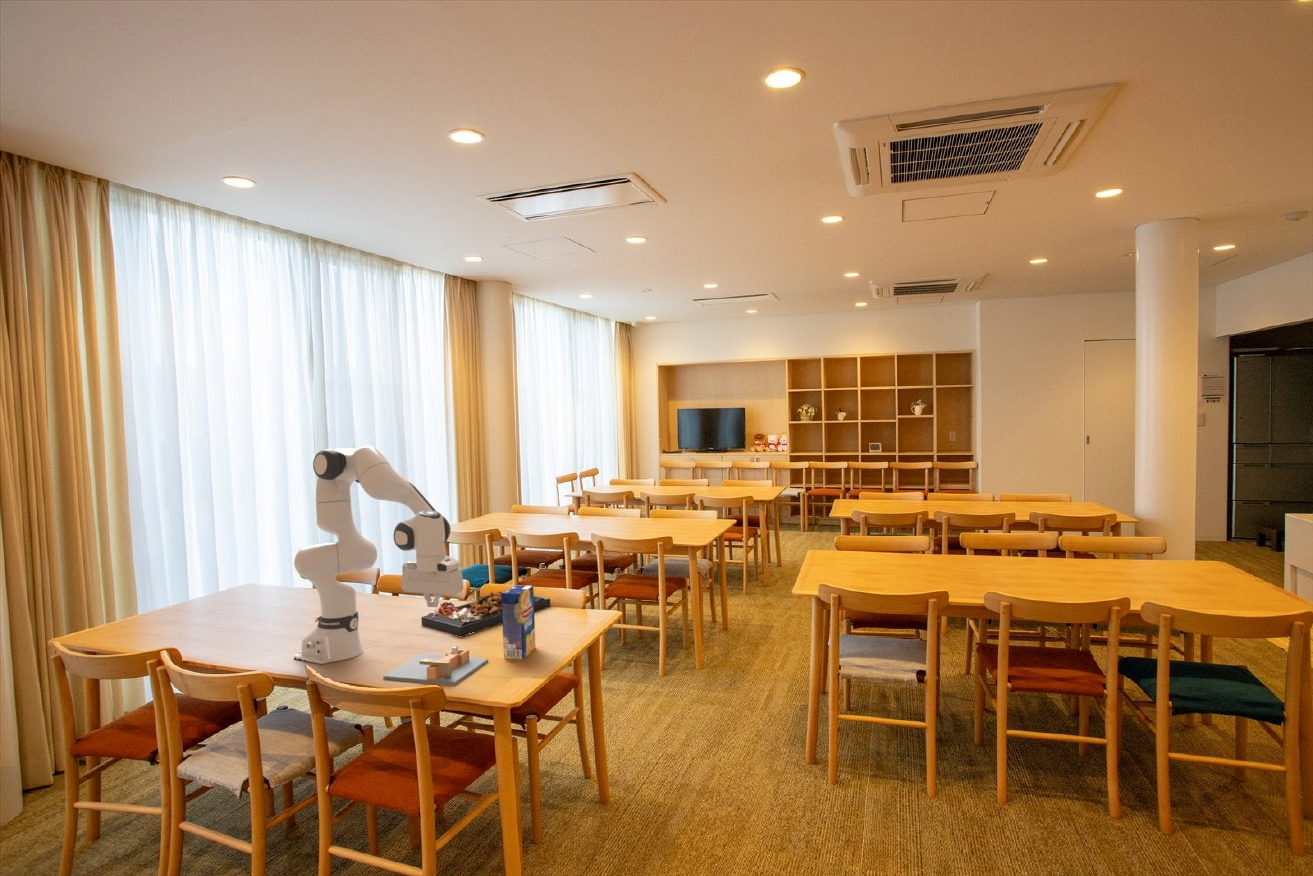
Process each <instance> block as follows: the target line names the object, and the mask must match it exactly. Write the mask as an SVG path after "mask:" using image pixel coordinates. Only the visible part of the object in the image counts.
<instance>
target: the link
mask: <svg viewBox="0 0 1313 876" xmlns="http://www.w3.org/2000/svg"><path fill="white" fill-rule="evenodd" d="M444 656H445V657H444V658H442V659H440V660H446V661H451V669H453V668H454V667H456V666H461V665H463V664H464V663H466V662H467V661H469V657H470V650H469V649H463V648H458V654H452V650H450V651H449V652H448V653H446V654H445V655H444ZM443 674H444V673H443V666H435V665H430V666H429V667H427V679H435V680H436V679H437V678H439V677H440V676H442V675H443Z"/></svg>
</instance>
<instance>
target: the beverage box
mask: <svg viewBox="0 0 1313 876" xmlns="http://www.w3.org/2000/svg"><path fill="white" fill-rule="evenodd" d="M504 591H505V592H504ZM504 591H503V592H502V618H503V623H502V640H503V641H502V645H503V659H504V658H524V657H525V656H526V655H527V656H528V655H530V653H532V652H531V650H533V649H534V648H535V649H536V627H535V626H536V625H535V612H534V596H535V595H534V592H535V591H534V585H526V584H525V585H524V584H523V585H518V584H515V585H512V586H511V587H510V588H507V589H506V590H504ZM535 649H534V650H535ZM534 650H533V651H534ZM527 656H526V657H527ZM526 657H525V658H526ZM525 658H524V659H525Z"/></svg>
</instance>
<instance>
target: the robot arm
mask: <svg viewBox="0 0 1313 876" xmlns="http://www.w3.org/2000/svg"><path fill="white" fill-rule="evenodd" d="M312 467H313V471H314V473H315V475H316V476H317V481H316V489H315V509H316V510H315V511H316V512H315V513H316V524H317V526H318V528H319V529H320V530H322V531H324V532H327V533H330V534H333V535H335V536H336V538H337V539H338V540H337V541H336V542H330V543H329V542H328V543H318V544H317V543H316V544H313V545H309V546H306V547H302V548H300V549H299V550H298V552H297V553H296V555H295V557H294V561H293V563H294V568H295V570H296V572H297V573H298V575H299V576H301V577H302V578H304V579H306V580H308V581H309V582H311V584H313V586H314V587H315V589H316V590H317V592H318V596H319V601H320V609H321V612H320V613H321V615H320V616H319V617H316V618H315V620H314V622H315V623H316V622H317V626H316V627H315V628H314V629H313V630H312V631H310V633H308V634H307V635H305V636H304V638H303V640H302V643H301V649H300V650H299V651H298V652H296V653H295V654H294V656H293V658H296V659H295V660H299V659H301V660H300V661H304V660H305V661H304V662H310V663H315V664H319V665H323V664H324V665H325V664H329V663H333V662H340V661H344V660H345V661H346V660H349V659H353V658H356V657H358V656H360V655H361V654H363V653H364V647H363V645H362V641H361V638H360V632H359V611H358V610H357V609H358V608H357V593H356V589H355V588H354V587H353V586H351V585H350V584H347V583H344V582H340V581H338V580H337V579H336V576H338V575H343V574H351V573H359V572H362V571H365V570H368V569H371V568H372V567H373V566H374V565H375V563H376V562H377V559H378V550H377V548H376V546H375V545H374V543H373V542H372V541H370V540H368V539H366V537H364V536H363V535H362V534H361V532H360V531H358V529H357V528H356V526H355V522H354V519H353V512H352V511H353V510H352V500H351V498H352V496H351V486H352V484H353V483H354V482H356V483H358V484H360V486H361V488H362V489H363V490H364V492H365V493H366V494H367V496H369V497H371V498H372V499H375V500H379V501H388V502H394V503H398V504H402V505H405V506H406V507H408V508H409V509H410V510H411V512H412V513H413V514H414V516H413V517H411V518H409V519H407V520H404V521H401V522H398V523H397V525H396V526H395V527H394V530H393V542H394V544H395V546H396V547H397V548H399V549H400V550H401V551H406V552H407V551H408V552H410V551H415V561H407V562H405V563H403V564H402V567H401V569H402V574H401V587H400V588H401V590H402V591H403V592H406V593H420V594H421V593H422V594H423V595H422V596H423V598H424V599H425V601H426V606H427V608H435V607H436V608H437V607H439V601H440V598H441V596H442V595H450V596H451V595H452V596H453V595H454V596H457V595H458V594H461V593H462V592H463V590H464V579H463V578H464V577H463V573H462V570H461V569H459V568H460V567H461V564H462V563H461V561H460V560H458V559H455V558H453V557H452V556H451V557H450V556H449V555H448V554H446V553H447V552H446V549H445V544H446V542H448V540H449V538H450V536H451V525H450V523H449V521H448V520H447V519H446V517H445V516H443V515H442V513H440V512H439V511H438V510H436V509H435V508H434V507H433V505H432V504H431V503H430V502H429V501H428V500H427V499H426V497H425V496H424V495H423V494H422V493H421V492H420V491H419V489H418V488H417V486H415V485H414V484H413V483H411V482H410V481H409V480H406V479H405V478H403V477H402V476H400V475H399V474H398V473H397V472H396V471H395V469H393V467H392V466H391V464H390V462H389V461H388V460H387V459H386V457H385V456H384V455H383V453H381V452H380V451H379V450H378V448H376V447H374V446H372V445H363V446H361V447H358V448H354V447H347V448H346V447H345V448H334V449H333V448H326V449H322V450H319V451H318V452H317V453H316V455H315V456H314V459H313V463H312ZM432 594H433V597H434V599H432V597H431V595H432ZM438 600H439V601H438Z"/></svg>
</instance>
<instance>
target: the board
mask: <svg viewBox="0 0 1313 876" xmlns="http://www.w3.org/2000/svg"><path fill="white" fill-rule="evenodd" d="M445 656H446V655H445V654H444V655H442V654H441V655H440V654H430V653H429V654H428V653H421V654H419V655H417V656H415V657H414V658H412V659H410V660H409V661H407V662H405V663H403V664H402V665H400V666H398V667H396V668H395V669H393V670H391V671H390V672H388V673H386V674H384V675H383V678H382V679H383V680H388V681H397V682H398V681H400V682H409V683H410V682H413V683H423V684H432V683H438V684H437V685H445V686H456V685H458V684H459V683H461V682H462V681H463V680H465V679H466V678H467V677H468V675H469V676H470V675H472V674H473V673H475V672H476V671H478V670H479V669H480V668H482V667H483V666H484V665H486V664H487V663H488V662H489V658H481V657H470V656H469V661H467V662H466V663H464V664H463V665H461V666H456V667H454V668H453V669H451V672H452V676H451V677H450V678H448V679H445V678H444V674H443V675H442V676H440V677H439V678H437V679H436V680H435V679H427V667H429V666H430V665H423V664H420V660H422V659H433V660H440V659H442V658H444V657H445ZM486 662H487V663H486ZM485 663H486V664H485ZM483 664H484V665H483ZM482 665H483V666H482ZM478 668H479V669H478ZM471 673H472V674H471ZM464 678H465V679H464Z"/></svg>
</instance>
